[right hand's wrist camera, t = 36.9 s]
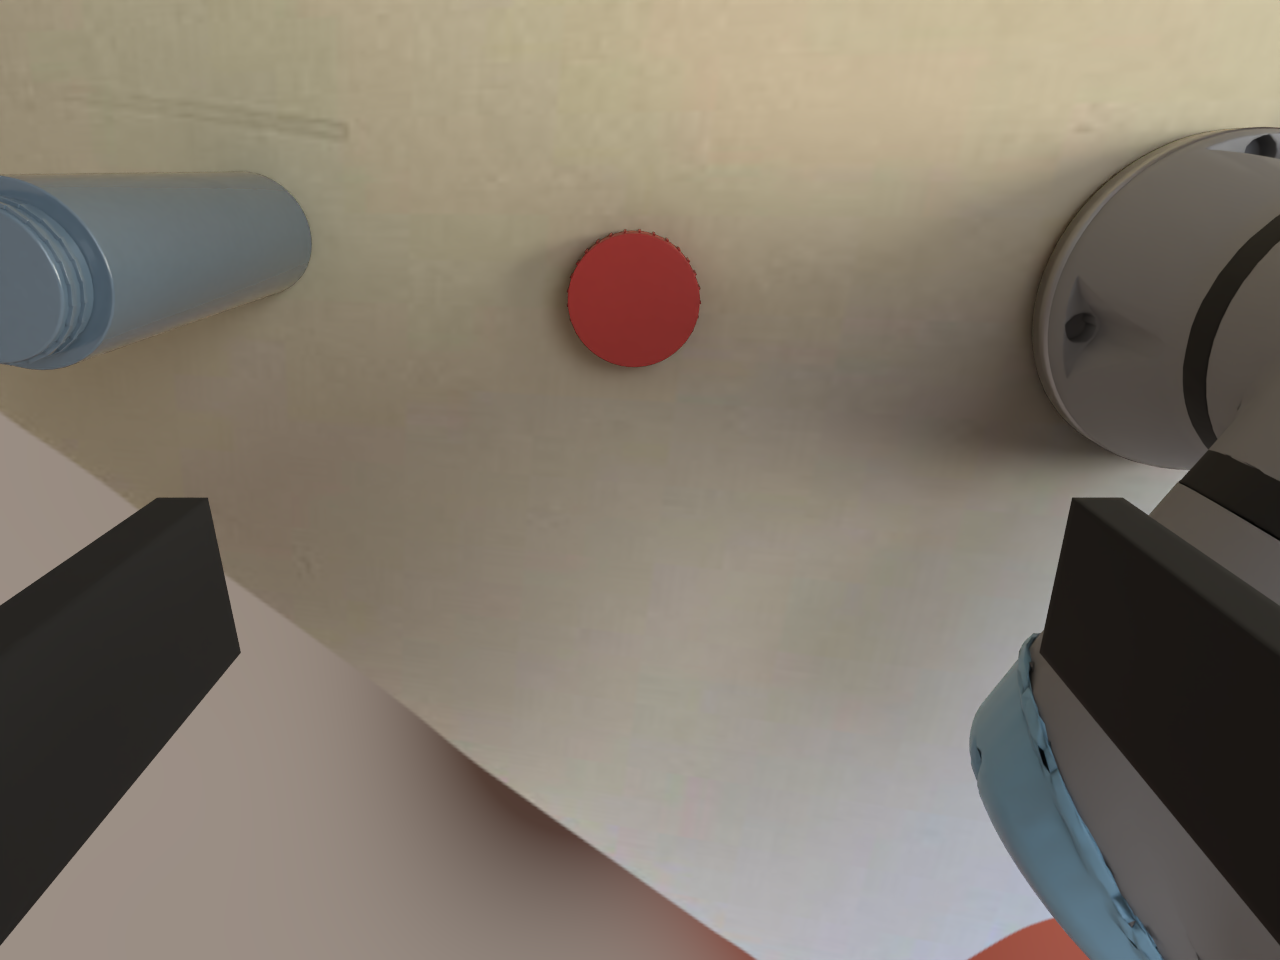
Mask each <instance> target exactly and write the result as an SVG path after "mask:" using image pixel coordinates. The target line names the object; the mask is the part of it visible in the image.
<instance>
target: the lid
mask: <svg viewBox="0 0 1280 960" xmlns="http://www.w3.org/2000/svg"><path fill="white" fill-rule="evenodd" d="M689 262H690V261H689V259H688V257H687V258H685V256H684V255H683V254H682V253H681V252H680V248H679V247H675V246H674V245H673V244H672V243H671V242H669V240H668V238H666V239H664V238H662V237H660V236H658V235H655V232H653V233H649V232H643V231H641V229H638V231H626V229H625V230H624V232H619V233H615V234H612V233H610V235H609V236H608V237H605V238H604V239H602V240H599V239H598V240H597V241H596V244H595V245H593V246H592V247H591V248H590V249H588V248H587V249H586V251H585V255H584V256H583V257H582V259H581V260H578V262H577V263H576V265H577V267H576V269H575V270H574V273H572V274H571V276H570V278H571V281H570V285H569V288H568V290H567V292H568V304H567V307H568V310H569V315H570V321H571V322H572V325H573V327H574V329H575V331H576V334H577V335H578V337H579V338H580V339H581V341H582V342H583V343H584V345H585V346H586V347H587V348H588V349H589V350H590V351H592V352H593V353H594V354H596V355H597V356H598V357H600V358H602V359H604V360H605V361H608V362H610V363H613V364H616V365H620V366H626V367H642V366H648V365H652V364H655V363H658V362H660V361H662V360H664V359H666V358H668V357H669V356H671V355H672V354H674V353H675V352H676V351H677V350H678V349H679V348H680V347H682V345H683V344H684V343H685V342H686V341H687V339H688V338H689V336H690V334H691V333H692V332H693V329H694V326H695V324H696V321H697V318H698V317H699V316H698V313H699V307H700V304H701V301H700V295H699V290H700V286H699V284H698V283H697V280H696V277H695V276H696V275H697V274H696V272H695V270H692V268H691V266H690V264H689Z"/></svg>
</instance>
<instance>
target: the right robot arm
mask: <svg viewBox="0 0 1280 960" xmlns="http://www.w3.org/2000/svg"><path fill="white" fill-rule="evenodd" d="M1032 342H1033V353H1034V359H1035V364H1036V368H1037V371H1038V375H1039V378H1040V381H1041V383H1042V386H1043V388H1044V390H1045V392H1046V394H1047V396H1048V398H1049V399H1050V401H1051V403H1052V404H1053V406H1054V407H1055V409H1056V410H1057V411H1058V413H1059V414H1060V415H1061V416H1062V417H1063V418H1064V419H1065V420H1066V421H1067V423H1068V424H1069V425H1071V426H1072V427H1073V428H1074V429H1075V430H1077V431H1078V432H1079V433H1081V434H1082V435H1084V436H1085V437H1087V438H1088V439H1090V440H1091V441H1093V442H1095V443H1096V444H1098V445H1099V446H1101V447H1103V448H1104V449H1106V450H1108V451H1110V452H1112V453H1114V454H1116V455H1118V456H1121V457H1123V458H1126V459H1129V460H1132V461H1136V462H1140V463H1143V464H1147V465H1151V466H1156V467H1161V468H1169V469H1183V470H1190V471H1189V472H1188V473H1187V474H1186V475H1185V476H1184V477H1183V478H1182V480H1180V481H1179V483H1177V484H1176V485H1175V486H1174V487H1173V488H1172V489H1171V490H1170V492H1169V493H1168V494H1167V495H1166V496H1165V497H1164V499H1163V500H1162V501H1161V502H1160V503H1159V504H1158V505H1157V507H1156V508H1155V509H1154V510H1153V511H1152V512H1151V513H1150V515H1147V514H1146V513H1144V512H1143V511H1141V510H1140V509H1138V508H1137V507H1135V506H1134V505H1133V504H1131V503H1130V502H1128V501H1127V500H1125V499H1124V498H1072V501H1071V506H1070V511H1069V515H1068V520H1067V525H1066V529H1065V534H1064V539H1063V544H1062V548H1061V553H1060V558H1059V562H1058V567H1057V572H1056V576H1055V581H1054V586H1053V591H1052V595H1051V600H1050V605H1049V609H1048V614H1047V619H1046V623H1045V628H1044V630H1043V631H1042V633H1038V634H1035V633H1033V634H1032V635H1031V636H1030V637H1029V638H1028V639H1027V640H1026V641H1025V642H1024V643H1023V645H1022V647H1021V649H1020V651H1019V658H1018V660H1017V661H1016V662H1015V664H1014V665H1013V666H1012V667H1011V669H1010V670H1009V671H1008V672H1007V674H1006V675H1005V676H1004V677H1003V679H1002V680H1001V681H1000V682H999V683H998V685H997V686H996V687H995V688H994V690H993V691H992V692H991V693H990V695H989V696H988V697H987V698H986V699H985V701H984V702H983V703H982V704H981V706H980V708H979V709H978V711H977V713H976V715H975V717H974V720H973V723H972V727H971V732H970V740H969V747H970V756H971V765H972V769H973V771H974V774H975V777H976V779H977V786H978V789H979V794H980V797H981V799H982V802H983V804H984V806H985V809H986V811H987V813H988V815H989V817H990V820H991V822H992V824H993V826H994V828H995V830H996V832H997V833H998V835H999V837H1000V839H1001V841H1002V842H1003V844H1004V846H1005V848H1006V849H1007V851H1008V853H1009V854H1010V856H1011V858H1012V859H1013V861H1014V862H1015V864H1016V866H1017V867H1018V869H1019V870H1020V872H1021V873H1022V875H1023V876H1024V878H1025V879H1026V881H1027V882H1028V884H1029V885H1030V886H1031V888H1032V889H1033V891H1034V892H1035V893H1036V895H1037V896H1038V897H1039V899H1040V900H1041V901H1042V903H1043V904H1044V906H1045V907H1046V908H1047V909H1048V911H1049V912H1050V913H1051V915H1052V916H1053V917H1054V918H1055V920H1056V921H1057V922H1058V923H1059V924H1060V926H1061V927H1062V928H1063V929H1064V931H1065V932H1066V933H1067V934H1068V935H1069V937H1070V938H1071V939H1072V940H1073V941H1074V942H1075V943H1076V945H1077V946H1078V947H1079V948H1080V949H1081V950H1082V951H1083V952H1084V953H1085V954H1086V956H1087V957H1088V958H1089V959H1090V960H1280V128H1273V127H1255V128H1237V129H1223V130H1216V131H1209V132H1204V133H1200V134H1196V135H1192V136H1188V137H1186V138H1183V139H1180V140H1177V141H1174V142H1171V143H1169V144H1167V145H1165V146H1163V147H1160V148H1158V149H1156V150H1154V151H1152V152H1150V153H1149V154H1147V155H1145V156H1143V157H1141V158H1140V159H1138V160H1136V161H1135V162H1133V163H1132V164H1130V165H1129V166H1127V167H1126V168H1125V169H1123V170H1122V171H1120V172H1119V173H1118V174H1117V175H1115V176H1114V177H1113V178H1112V179H1110V180H1109V181H1108V182H1107V183H1106V184H1105V185H1104V186H1102V187H1101V188H1100V189H1099V190H1098V191H1097V192H1096V193H1095V194H1094V195H1093V196H1092V197H1091V198H1090V199H1089V200H1088V202H1087V203H1086V204H1085V205H1084V206H1083V207H1082V208H1081V209H1080V211H1079V212H1078V213H1077V215H1076V216H1075V217H1074V219H1073V220H1072V221H1071V222H1070V224H1069V225H1068V227H1067V228H1066V230H1065V231H1064V233H1063V235H1062V236H1061V238H1060V239H1059V241H1058V243H1057V245H1056V247H1055V248H1054V250H1053V252H1052V254H1051V256H1050V258H1049V261H1048V263H1047V265H1046V268H1045V270H1044V273H1043V276H1042V279H1041V282H1040V285H1039V288H1038V292H1037V296H1036V301H1035V306H1034V313H1033V323H1032ZM240 653H241V652H240V647H239V642H238V638H237V633H236V628H235V623H234V619H233V614H232V610H231V605H230V600H229V595H228V591H227V586H226V581H225V576H224V572H223V567H222V562H221V558H220V553H219V548H218V544H217V539H216V534H215V529H214V525H213V520H212V515H211V511H210V506H209V501H208V498H156V499H155V500H153V501H152V502H150V503H149V504H147V505H146V506H145V507H143V508H142V509H140V510H139V511H137V512H136V513H134V514H133V515H131V516H130V517H129V518H127V519H126V520H124V521H123V522H121V523H120V524H118V525H117V526H115V527H114V528H113V529H111V530H110V531H108V532H107V533H105V534H104V535H102V536H101V537H99V538H98V539H96V540H95V541H94V542H92V543H91V544H89V545H88V546H86V547H85V548H83V549H82V550H80V551H79V552H78V553H76V554H75V555H73V556H72V557H70V558H69V559H67V560H66V561H64V562H63V563H62V564H60V565H59V566H57V567H56V568H54V569H53V570H51V571H50V572H48V573H47V574H46V575H44V576H43V577H41V578H40V579H38V580H37V581H35V582H34V583H32V584H31V585H30V586H28V587H27V588H25V589H24V590H22V591H21V592H19V593H18V594H16V595H15V596H14V597H12V598H11V599H9V600H8V601H6V602H5V603H3V604H2V605H0V945H1V944H2V943H3V942H4V940H5V939H6V938H7V937H8V935H9V934H10V933H11V932H12V931H13V929H14V928H15V927H16V926H17V924H18V923H19V922H20V921H21V920H22V918H23V917H24V916H25V915H26V914H27V912H28V911H29V910H30V909H31V907H32V906H33V905H34V904H35V903H36V901H37V900H38V899H39V898H40V896H41V895H42V894H43V893H44V892H45V890H46V889H47V888H48V887H49V885H50V884H51V883H52V882H53V881H54V879H55V878H56V877H57V876H58V874H59V873H60V872H61V871H62V870H63V868H64V867H65V866H66V865H67V864H68V862H69V861H70V860H71V859H72V857H73V856H74V855H75V854H76V853H77V851H78V850H79V849H80V848H81V847H82V845H83V844H84V843H85V842H86V840H87V839H88V838H89V837H90V835H91V834H92V833H93V832H94V831H95V829H96V828H97V827H98V826H99V825H100V823H101V822H102V821H103V820H104V818H105V817H106V816H107V815H108V814H109V812H110V811H111V810H112V809H113V808H114V806H115V805H116V804H117V803H118V801H119V800H120V799H121V798H122V797H123V795H124V794H125V793H126V792H127V790H128V789H129V788H130V787H131V786H132V784H133V783H134V782H135V781H136V780H137V778H138V777H139V776H140V775H141V773H142V772H143V771H144V770H145V769H146V767H147V766H148V765H149V764H150V762H151V761H152V760H153V759H154V758H155V756H156V755H157V754H158V753H159V752H160V750H161V749H162V748H163V747H164V745H165V744H166V743H167V742H168V741H169V739H170V738H171V737H172V736H173V734H174V733H175V732H176V731H177V730H178V728H179V727H180V726H181V725H182V723H183V722H184V721H185V720H186V719H187V717H188V716H189V715H190V714H191V713H192V711H193V710H194V709H195V708H196V706H197V705H198V704H199V703H200V702H201V700H202V699H203V698H204V697H205V695H206V694H207V693H208V692H209V691H210V689H211V688H212V687H213V686H214V685H215V683H216V682H217V681H218V680H219V678H220V677H221V676H222V675H223V674H224V672H225V671H226V670H227V669H228V667H229V666H230V665H231V664H232V663H233V661H234V660H235V659H236V658H237V657H238V655H239V654H240Z"/></svg>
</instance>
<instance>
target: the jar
mask: <svg viewBox="0 0 1280 960" xmlns="http://www.w3.org/2000/svg"><path fill="white" fill-rule="evenodd" d="M311 246H312V242H311V233H310V228H309V225H308V222H307V219H306V217H305V214H304V212H303V210H302V209H301V207H300V205H299V204H298V203H297V201H296V200H295V199H294V197H293V196H292V195H291V194H290V193H289V192H288V191H287V190H286V189H284V188H283V187H282V186H281V185H279V184H278V183H276V182H275V181H273V180H271V179H269V178H267V177H265V176H262V175H260V174H256V173H252V172H243V171H231V172H154V173H76V174H0V364H7V365H14V366H17V367H22V368H27V369H36V370H51V369H58V368H64V367H67V366H70V365H73V364H76V363H79V362H81V361H84V360H87V359H90V358H93V357H96V356H99V355H101V354H104V353H107V352H110V351H113V350H116V349H119V348H121V347H124V346H127V345H130V344H133V343H136V342H139V341H141V340H144V339H147V338H150V337H153V336H156V335H159V334H161V333H164V332H167V331H170V330H173V329H176V328H179V327H182V326H184V325H187V324H190V323H193V322H196V321H199V320H202V319H204V318H207V317H210V316H213V315H216V314H219V313H222V312H224V311H227V310H230V309H233V308H236V307H239V306H242V305H244V304H247V303H250V302H253V301H256V300H259V299H262V298H264V297H267V296H270V295H273V294H276V293H279V292H282V291H284V290H286V289H288V288H289V287H291V286H292V285H293V284H295V283H296V282H297V281H298V280H299V279H300V277H301V276H302V275H303V273H304V271H305V270H306V268H307V265H308V263H309V260H310V255H311Z"/></svg>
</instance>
